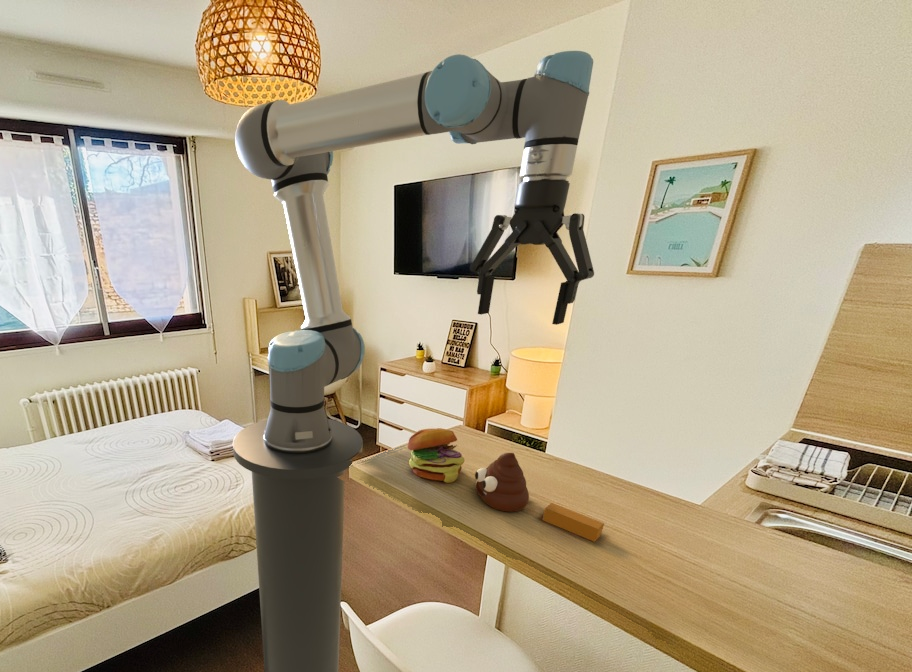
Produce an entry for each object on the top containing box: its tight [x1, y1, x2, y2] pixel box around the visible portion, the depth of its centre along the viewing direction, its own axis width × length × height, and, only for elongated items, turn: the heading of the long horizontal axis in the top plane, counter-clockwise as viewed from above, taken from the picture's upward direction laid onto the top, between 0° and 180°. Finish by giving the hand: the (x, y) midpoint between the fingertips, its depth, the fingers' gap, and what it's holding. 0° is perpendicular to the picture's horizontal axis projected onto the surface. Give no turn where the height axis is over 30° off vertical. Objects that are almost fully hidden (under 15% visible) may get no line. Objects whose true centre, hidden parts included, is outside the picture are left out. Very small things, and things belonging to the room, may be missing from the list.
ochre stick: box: [541, 502, 605, 542], centre depth 74 cm, size 8×2×2 cm, turn 42°
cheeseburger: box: [407, 427, 465, 484], centre depth 90 cm, size 10×11×10 cm
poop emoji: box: [474, 452, 530, 513], centre depth 80 cm, size 10×8×9 cm
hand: (518, 318), depth 82 cm, fingers open, 13 cm apart
